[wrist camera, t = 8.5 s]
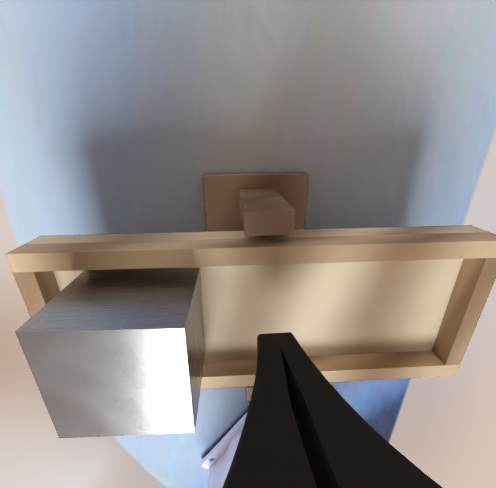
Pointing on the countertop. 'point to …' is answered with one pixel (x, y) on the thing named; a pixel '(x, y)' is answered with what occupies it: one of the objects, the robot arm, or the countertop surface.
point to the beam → (302, 292)
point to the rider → (120, 352)
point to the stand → (255, 205)
